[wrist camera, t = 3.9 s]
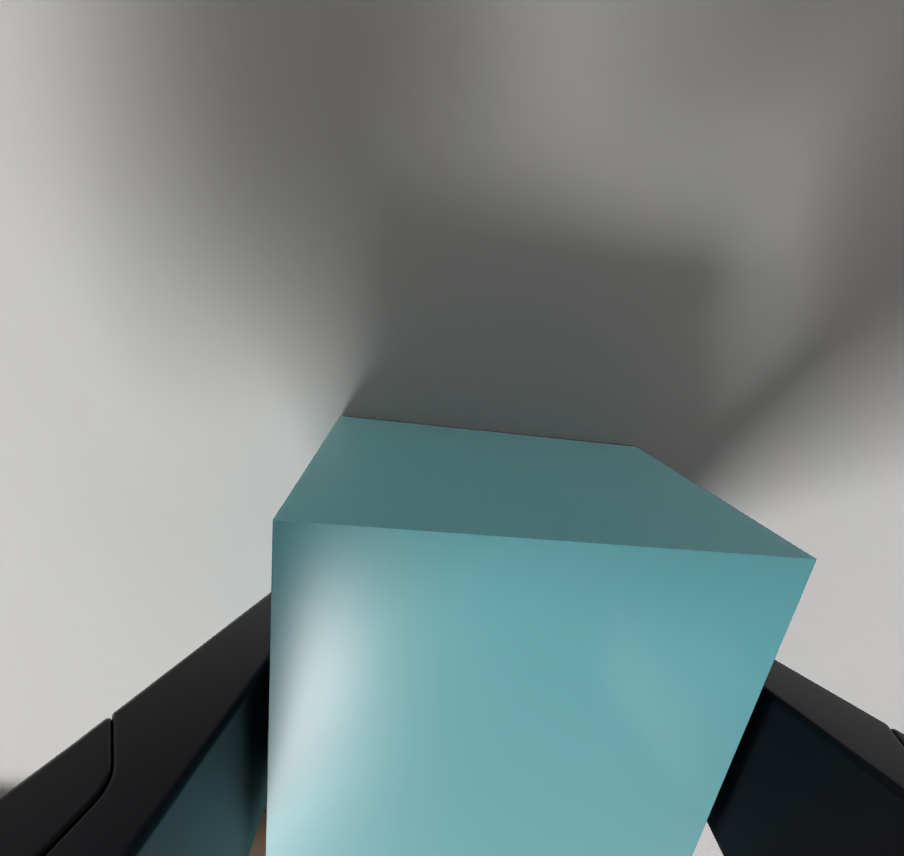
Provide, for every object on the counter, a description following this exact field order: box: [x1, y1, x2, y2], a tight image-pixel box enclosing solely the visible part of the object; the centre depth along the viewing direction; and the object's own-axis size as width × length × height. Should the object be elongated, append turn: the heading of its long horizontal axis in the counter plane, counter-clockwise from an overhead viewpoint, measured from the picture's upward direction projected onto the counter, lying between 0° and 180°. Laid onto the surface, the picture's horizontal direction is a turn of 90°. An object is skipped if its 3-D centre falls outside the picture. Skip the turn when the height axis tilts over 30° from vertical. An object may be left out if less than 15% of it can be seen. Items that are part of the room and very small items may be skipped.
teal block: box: [266, 416, 816, 856], centre depth 7 cm, size 6×6×4 cm
